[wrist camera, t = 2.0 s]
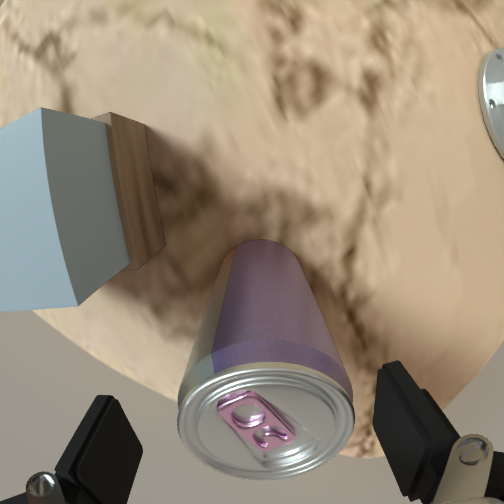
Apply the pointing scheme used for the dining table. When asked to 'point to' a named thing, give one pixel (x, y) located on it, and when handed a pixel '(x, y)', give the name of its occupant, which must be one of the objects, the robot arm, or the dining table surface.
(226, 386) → the beverage can
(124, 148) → the base block
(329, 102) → the dining table surface
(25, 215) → the top block
